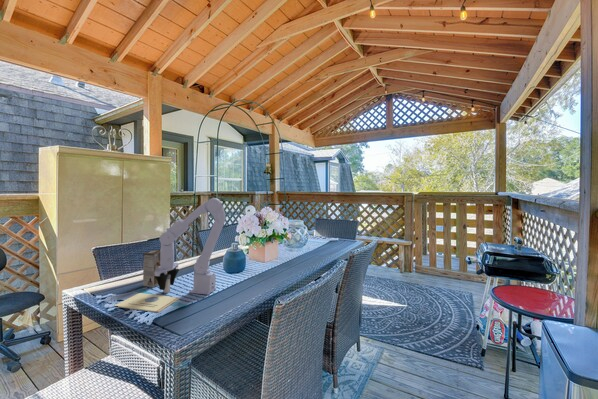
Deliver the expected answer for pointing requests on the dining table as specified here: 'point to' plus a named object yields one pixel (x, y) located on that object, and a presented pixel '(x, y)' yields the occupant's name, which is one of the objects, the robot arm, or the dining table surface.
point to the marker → (167, 284)
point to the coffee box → (150, 267)
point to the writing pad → (147, 302)
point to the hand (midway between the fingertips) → (166, 287)
